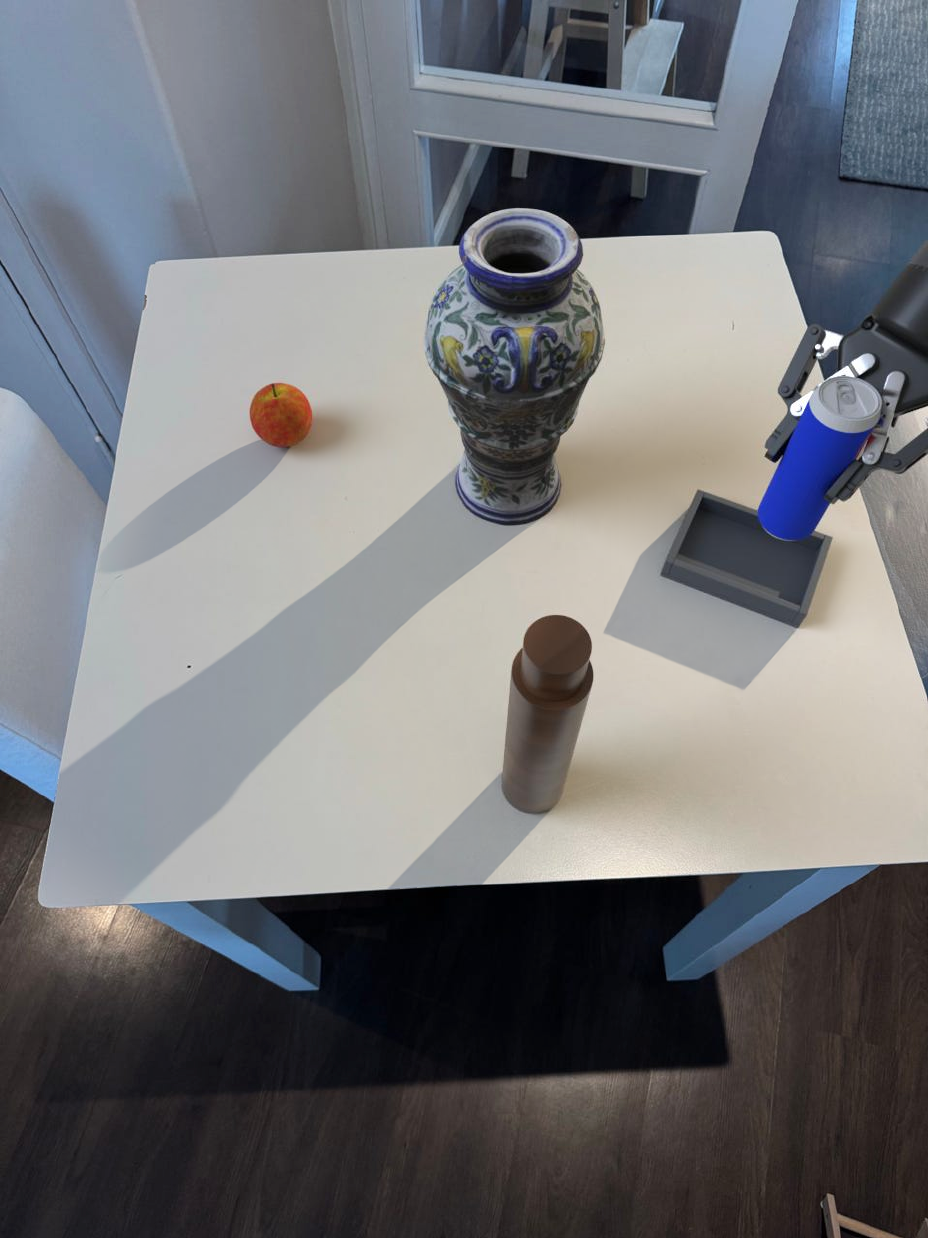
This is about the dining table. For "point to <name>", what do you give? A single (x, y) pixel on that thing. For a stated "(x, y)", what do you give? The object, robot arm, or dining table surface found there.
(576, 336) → the vase
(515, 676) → the bottle
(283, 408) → the fruit
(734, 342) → the dining table surface
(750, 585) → the dark gray tray
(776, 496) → the beverage can
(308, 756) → the dining table surface
